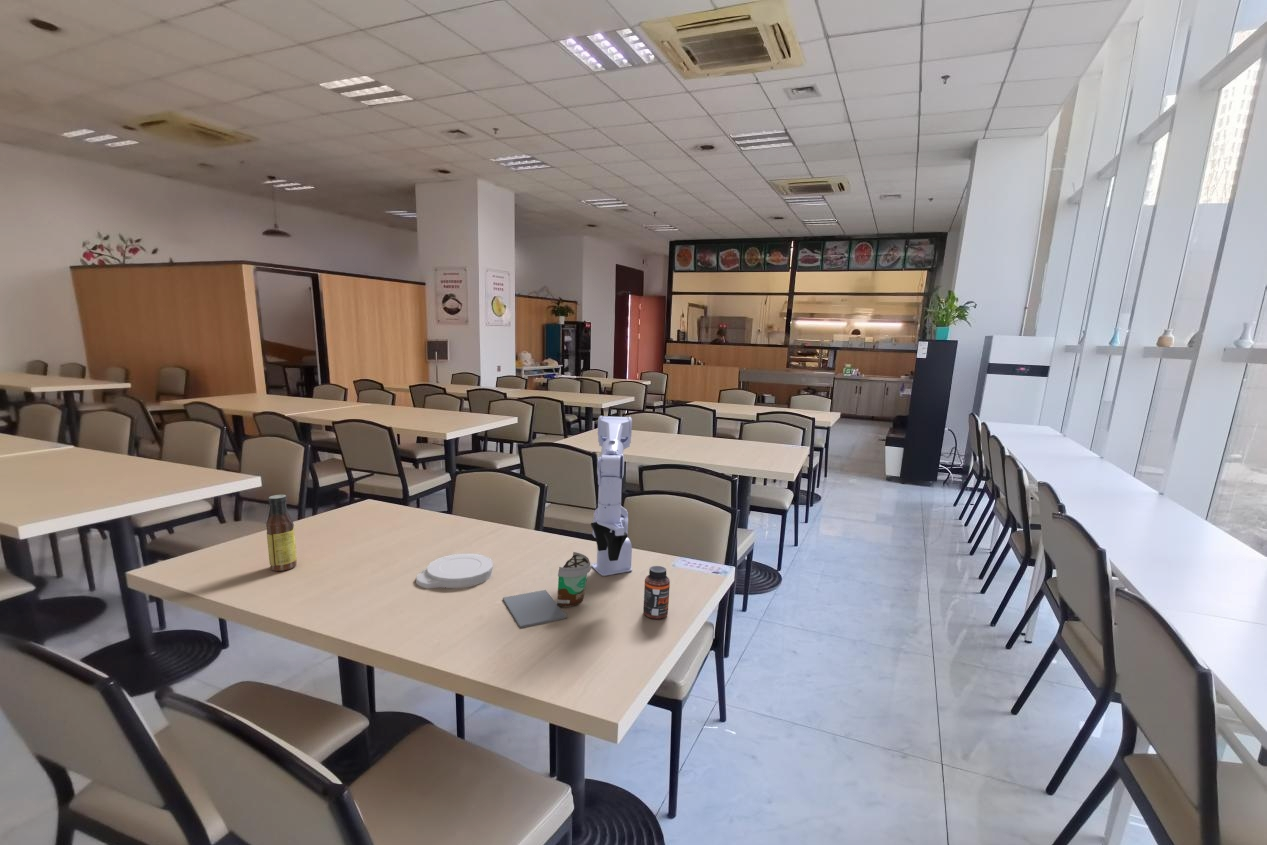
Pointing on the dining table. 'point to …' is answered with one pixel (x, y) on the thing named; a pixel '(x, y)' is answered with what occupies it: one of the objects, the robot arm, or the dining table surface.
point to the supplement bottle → (656, 593)
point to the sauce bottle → (280, 535)
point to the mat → (534, 608)
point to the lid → (456, 571)
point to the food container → (573, 580)
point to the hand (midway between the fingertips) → (607, 555)
